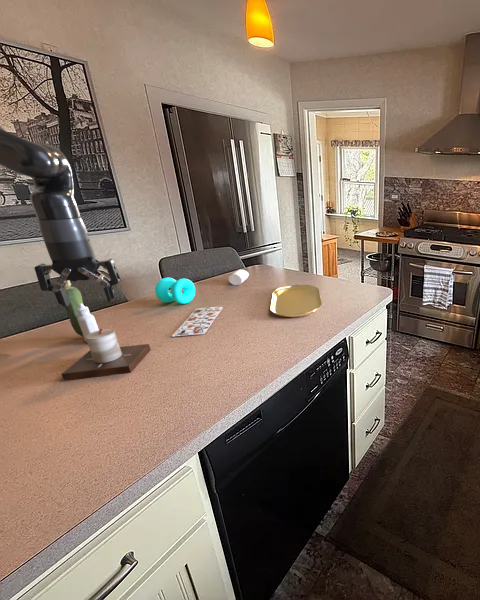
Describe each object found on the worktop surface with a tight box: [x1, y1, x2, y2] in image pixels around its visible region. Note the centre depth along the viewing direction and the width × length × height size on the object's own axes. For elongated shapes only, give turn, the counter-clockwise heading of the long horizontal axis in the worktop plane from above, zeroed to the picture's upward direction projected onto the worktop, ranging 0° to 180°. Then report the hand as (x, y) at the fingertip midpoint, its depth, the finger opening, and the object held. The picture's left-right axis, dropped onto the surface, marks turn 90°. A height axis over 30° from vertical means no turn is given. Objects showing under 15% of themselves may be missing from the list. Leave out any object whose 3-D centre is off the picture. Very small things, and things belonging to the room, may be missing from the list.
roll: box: [228, 269, 250, 286], centre depth 154 cm, size 6×12×6 cm, turn 3°
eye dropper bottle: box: [77, 303, 100, 343], centre depth 97 cm, size 4×6×12 cm
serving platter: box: [269, 284, 323, 318], centre depth 131 cm, size 19×35×2 cm, turn 17°
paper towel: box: [171, 306, 224, 338], centre depth 113 cm, size 24×1×9 cm
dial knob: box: [86, 328, 122, 363], centre depth 85 cm, size 6×6×7 cm
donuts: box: [154, 276, 196, 305], centre depth 127 cm, size 10×10×10 cm
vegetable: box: [63, 280, 84, 338], centre depth 98 cm, size 4×4×20 cm
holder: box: [61, 343, 151, 381], centre depth 86 cm, size 14×12×2 cm
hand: (89, 302), depth 81 cm, fingers open, 8 cm apart
